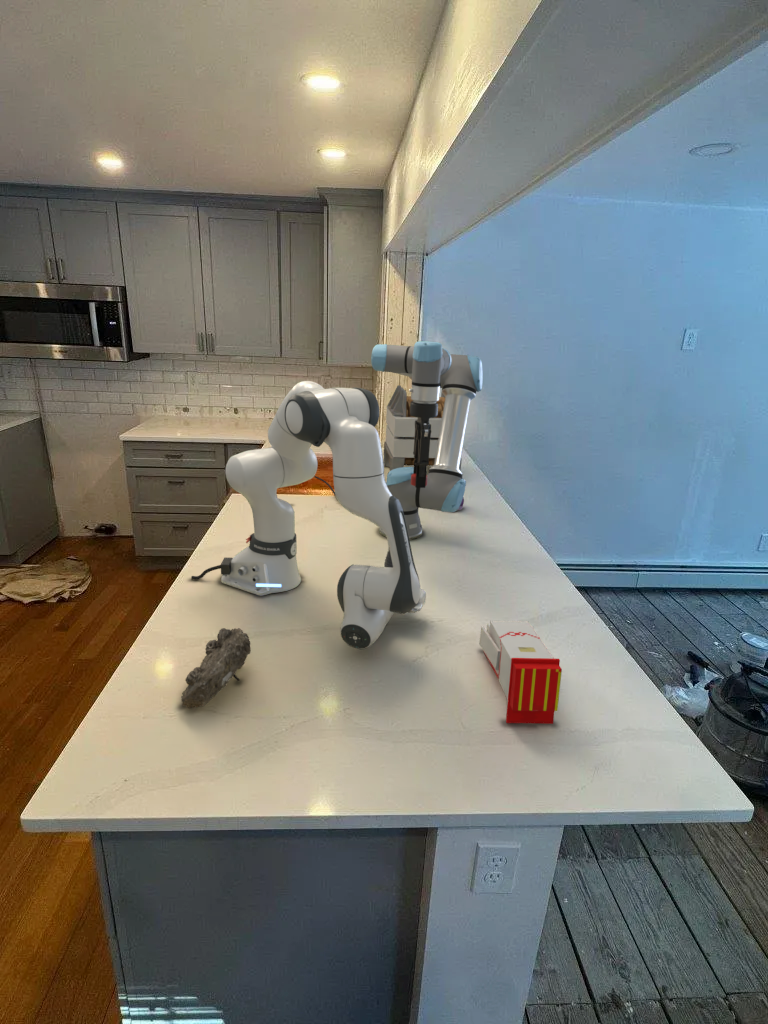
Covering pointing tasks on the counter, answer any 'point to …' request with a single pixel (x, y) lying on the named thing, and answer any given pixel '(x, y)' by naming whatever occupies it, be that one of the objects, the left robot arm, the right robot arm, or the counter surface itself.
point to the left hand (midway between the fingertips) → (394, 580)
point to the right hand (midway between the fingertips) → (418, 484)
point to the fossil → (216, 667)
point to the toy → (523, 670)
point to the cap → (413, 479)
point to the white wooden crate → (407, 431)
